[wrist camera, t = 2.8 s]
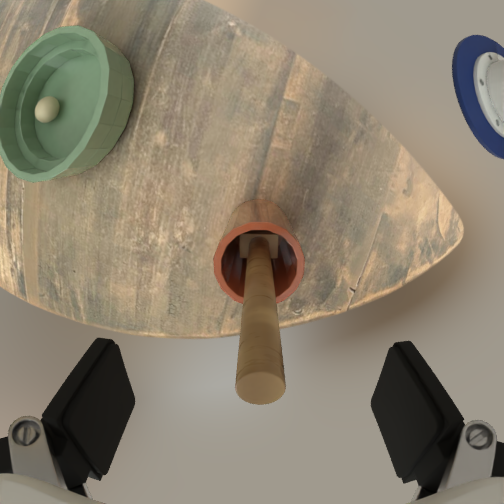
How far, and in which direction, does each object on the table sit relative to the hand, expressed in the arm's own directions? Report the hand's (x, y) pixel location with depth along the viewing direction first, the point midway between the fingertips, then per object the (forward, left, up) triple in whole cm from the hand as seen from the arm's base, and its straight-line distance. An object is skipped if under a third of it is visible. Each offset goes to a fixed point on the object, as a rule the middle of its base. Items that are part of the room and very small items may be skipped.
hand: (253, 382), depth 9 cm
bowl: (+20, -14, -20) cm, 32 cm away
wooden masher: (0, 0, -20) cm, 20 cm away
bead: (+22, -14, -18) cm, 32 cm away
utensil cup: (0, 0, -20) cm, 20 cm away
